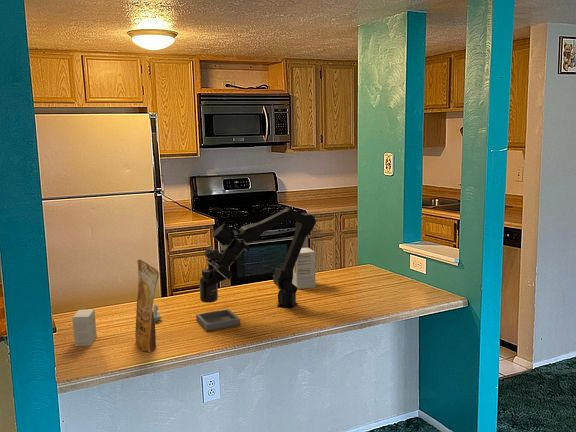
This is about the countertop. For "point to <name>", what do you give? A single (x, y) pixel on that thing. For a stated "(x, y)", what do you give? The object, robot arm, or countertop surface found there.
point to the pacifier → (156, 313)
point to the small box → (84, 327)
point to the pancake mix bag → (146, 306)
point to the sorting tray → (217, 320)
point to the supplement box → (304, 269)
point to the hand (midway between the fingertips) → (205, 284)
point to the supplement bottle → (208, 292)
